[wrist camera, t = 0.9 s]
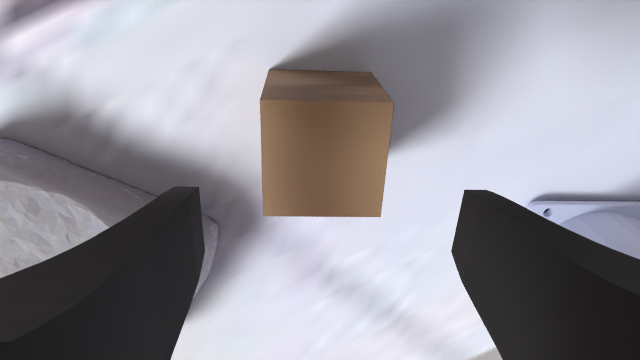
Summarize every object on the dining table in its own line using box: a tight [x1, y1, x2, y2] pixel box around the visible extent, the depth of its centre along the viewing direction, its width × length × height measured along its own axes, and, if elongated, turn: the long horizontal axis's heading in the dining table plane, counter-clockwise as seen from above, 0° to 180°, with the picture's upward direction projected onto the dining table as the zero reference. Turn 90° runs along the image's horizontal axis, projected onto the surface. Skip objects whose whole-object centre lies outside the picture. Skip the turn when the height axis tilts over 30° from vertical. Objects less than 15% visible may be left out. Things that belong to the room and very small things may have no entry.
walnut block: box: [260, 69, 394, 217], centre depth 17 cm, size 4×4×5 cm
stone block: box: [0, 138, 219, 300], centre depth 21 cm, size 12×5×10 cm
